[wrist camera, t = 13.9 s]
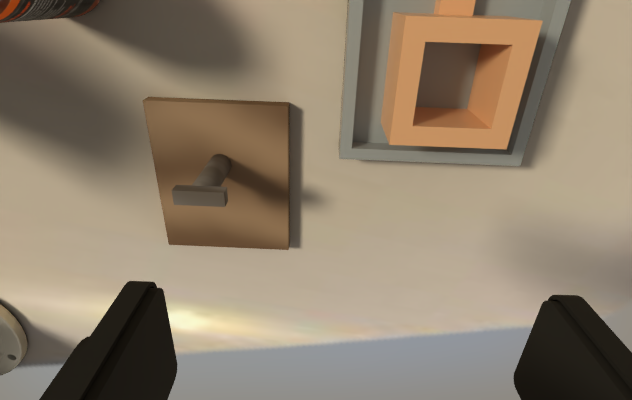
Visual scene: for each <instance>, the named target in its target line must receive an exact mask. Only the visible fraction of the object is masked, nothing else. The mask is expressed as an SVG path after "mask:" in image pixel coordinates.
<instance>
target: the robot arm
mask: <svg viewBox="0 0 632 400" xmlns="http://www.w3.org/2000/svg"><path fill="white" fill-rule="evenodd" d="M26 352H27V340H26V335H25V333H24V331H23V329H22V327H21V325H20V324H19V322H18V321H17V320H16V318H15V317H14V316H13V315H12V314H11V313H10V312H9V311H8V310H7V309H6V308H4V307H3V306H2V305H1V304H0V375H3V374H5V373H8V372H10V371H11V370H12V369H14V368H15V367H16V366H17V365H18V364H19V363H20V361H21V360H22V359H23V358H24V356H25V354H26ZM176 373H177V360H176V355H175V350H174V344H173V339H172V334H171V328H170V323H169V318H168V312H167V307H166V302H165V296H164V292H163V289H162V288H157V286H156V284H155V283H154V282H142V281H129V282H127V283H126V285H125V286H124V287H123V289H122V290H121V292H120V293H119V295H118V296H117V298H116V299H115V301H114V302H113V303H112V305H111V306H110V308H109V309H108V311H107V312H106V314H105V315H104V317H103V318H102V320H101V321H100V323H99V324H98V325H97V327H96V328H95V330H94V331H93V333H92V334H91V336H90V337H86V338H85V339H83V340H82V341H81V342H80V343H79V344H78V345H77V347H76V348H75V349H74V351H73V352H72V354H71V355H70V357H69V358H68V359H67V361H66V362H65V364H64V365H63V367H62V368H61V370H60V371H59V372H58V374H57V375H56V377H55V378H54V379H53V381H52V382H51V384H50V385H49V387H48V388H47V389H46V391H45V392H44V394H43V395H42V397H41V398H40V399H39V400H167V399H168V396H169V394H170V391H171V388H172V386H173V383H174V380H175V377H176ZM514 384H515V388H516V390H517V392H518V394H519V396H520V398H521V400H632V353H631V351H630V350H629V349H628V348H627V347H626V346H625V345H624V344H623V343H622V341H621V340H620V339H619V338H618V337H617V336H616V335H615V334H614V332H612V330H611V329H610V328H609V327H608V326H607V325H606V323H605V322H604V321H603V320H602V319H601V318H600V317H599V316H598V314H597V313H596V312H595V311H594V310H593V309H592V308H591V307H590V305H589V304H588V303H587V302H586V301H585V300H584V299H583V298H582V297H580V296H575V295H552V296H551V297H550V298H549V299H548V301H544V302H543V304H542V305H541V308H540V310H539V313H538V315H537V318H536V320H535V323H534V325H533V328H532V330H531V333H530V335H529V338H528V340H527V343H526V345H525V348H524V350H523V353H522V355H521V358H520V360H519V363H518V365H517V368H516V370H515V373H514Z"/></svg>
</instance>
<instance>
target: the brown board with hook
mask: <svg viewBox="0 0 632 400" xmlns="http://www.w3.org/2000/svg"><path fill="white" fill-rule="evenodd" d="M143 104H144V110H145V115H146V121H147V126H148V132H149V137H150V143H151V148H152V154H153V159H154V165H155V170H156V176H157V182H158V187H159V193H160V198H161V204H162V209H163V215H164V220H165V226H166V231H167V237H168V242H169V245H191V246H214V247H237V248H260V249H282V250H288V249H289V243H290V238H289V103H288V102H263V101H237V100H212V99H186V98H161V97H148V98H146V99H144V100H143Z"/></svg>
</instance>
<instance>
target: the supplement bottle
mask: <svg viewBox="0 0 632 400" xmlns="http://www.w3.org/2000/svg"><path fill="white" fill-rule="evenodd" d="M99 1H100V0H0V23H2V22H14V21H28V20H42V19H56V18H70V17H76V16H80V15H83V14H85V13H88V12H89V11H91V10H92V9H93V8H94V7H95V6H96V5H97V4H98V3H99Z"/></svg>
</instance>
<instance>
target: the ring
mask: <svg viewBox="0 0 632 400" xmlns="http://www.w3.org/2000/svg"><path fill="white" fill-rule="evenodd" d="M475 1H476V0H436V2H435V8H434V14H433V13H404V12H393V17H392V26H391V35H390V44H389V53H388V62H387V71H386V79H385V88H384V97H383V106H382V115H381V125H382V127H383V130H384V132H385V135H386V137H387V140H388V142H389V145H407V146H433V147H458V148H483V149H507V146H508V142H509V139H510V135H511V132H512V128H513V125H514V121H515V118H516V114H517V111H518V107H519V103H520V100H521V96H522V93H523V89H524V86H525V82H526V79H527V75H528V71H529V68H530V64H531V61H532V57H533V54H534V50H535V47H536V43H537V39H538V36H539V32H540V29H541V25H542V22H543V21H542V20H534V19H526V18H518V17H510V16H490V15H473V11H474V6H475ZM425 42H448V43H476V44H481V47H480V52H479V56H478V61H477V66H476V70H475V75H474V79H473V84H472V88H471V93H470V98H469V102H468V107H467V109H456V108H430V107H415V106H416V100H417V93H418V87H419V80H420V74H421V67H422V61H423V54H424V48H425Z"/></svg>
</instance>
